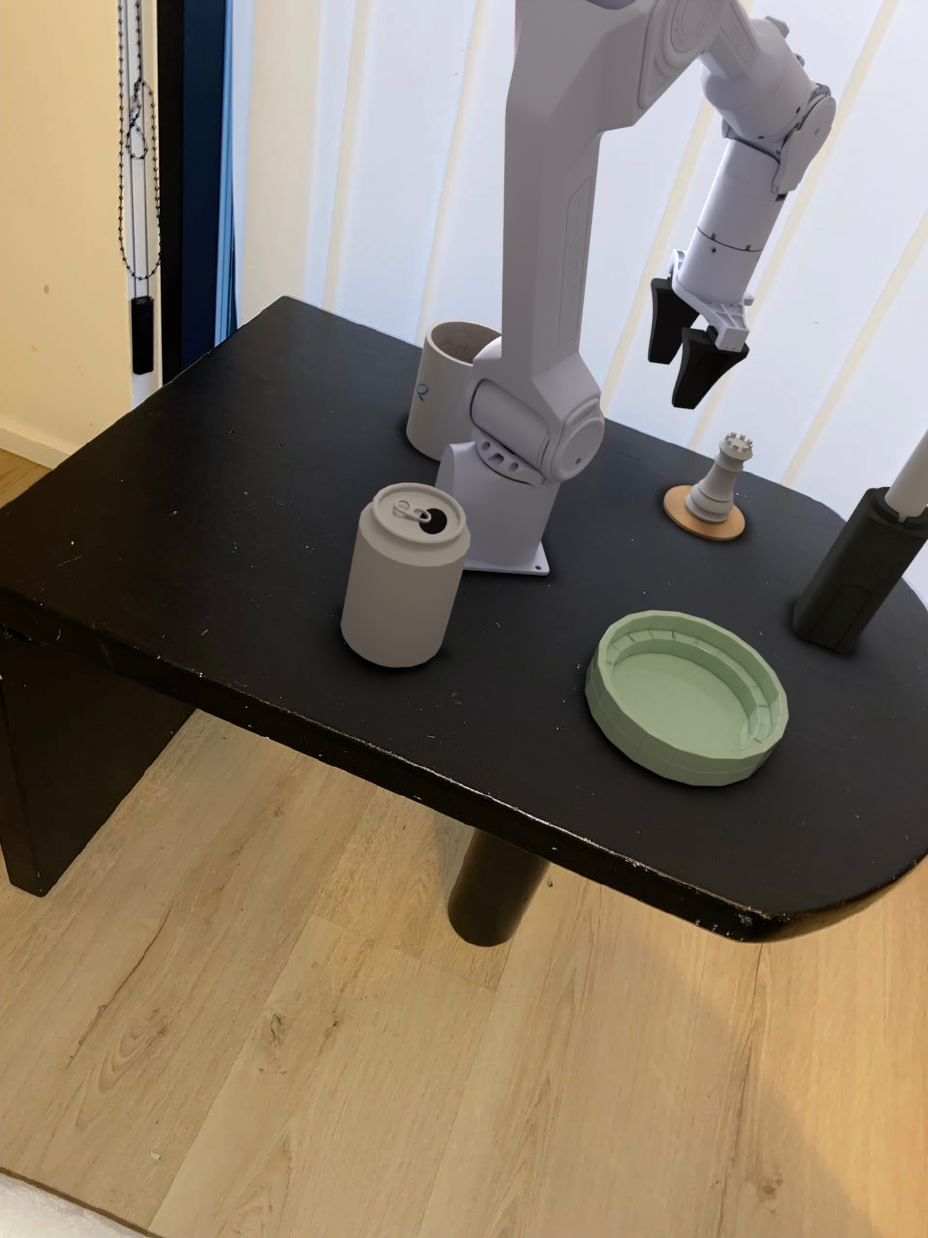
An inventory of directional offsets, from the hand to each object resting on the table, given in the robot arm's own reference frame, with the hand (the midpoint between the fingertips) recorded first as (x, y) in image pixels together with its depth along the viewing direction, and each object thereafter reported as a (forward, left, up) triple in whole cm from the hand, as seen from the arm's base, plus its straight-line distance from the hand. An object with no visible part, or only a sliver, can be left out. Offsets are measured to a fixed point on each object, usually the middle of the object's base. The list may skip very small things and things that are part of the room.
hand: (670, 383), depth 86 cm
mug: (-17, +5, -11) cm, 21 cm away
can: (-26, -24, -11) cm, 37 cm away
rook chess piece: (+6, -5, -10) cm, 13 cm away
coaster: (+6, -5, -10) cm, 13 cm away
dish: (-5, -30, -10) cm, 32 cm away
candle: (+12, -20, -11) cm, 26 cm away
